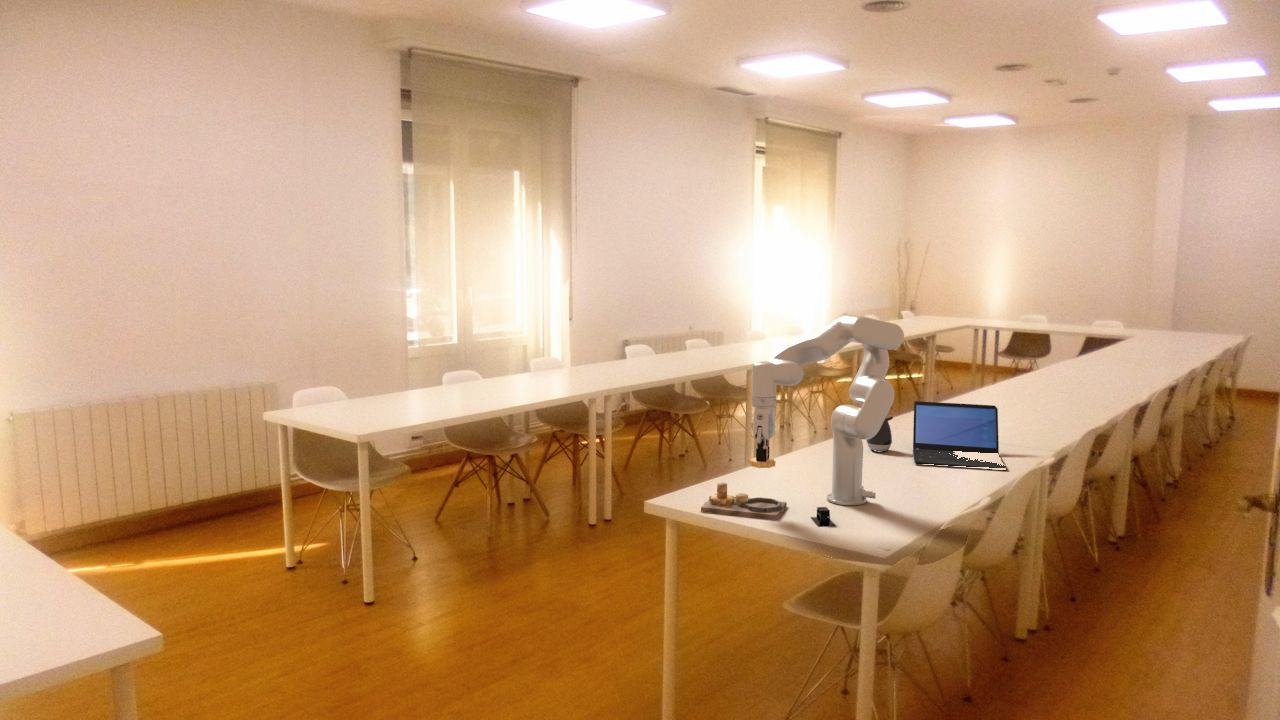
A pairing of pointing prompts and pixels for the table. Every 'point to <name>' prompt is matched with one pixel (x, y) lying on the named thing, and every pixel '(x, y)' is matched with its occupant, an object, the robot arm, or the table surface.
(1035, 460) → the table surface
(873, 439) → the pump dispenser
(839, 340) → the robot arm
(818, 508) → the black slotted bracket
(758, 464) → the gear
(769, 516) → the carrier
